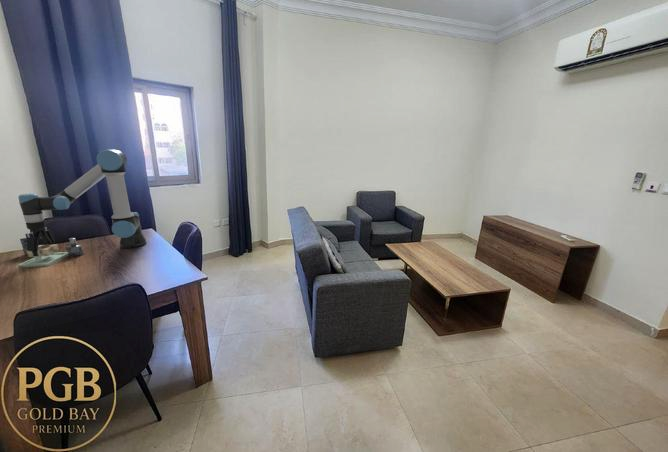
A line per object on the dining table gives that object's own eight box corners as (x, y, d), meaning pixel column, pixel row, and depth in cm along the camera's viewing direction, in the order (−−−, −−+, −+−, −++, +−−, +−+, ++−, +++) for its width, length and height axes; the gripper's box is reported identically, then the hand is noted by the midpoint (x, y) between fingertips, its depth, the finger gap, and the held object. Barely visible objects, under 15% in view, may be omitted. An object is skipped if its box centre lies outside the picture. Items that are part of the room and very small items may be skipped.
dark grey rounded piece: (86, 252, 172) (82, 236, 169) (79, 256, 166) (74, 240, 163) (73, 253, 171) (69, 236, 168) (65, 257, 164) (61, 240, 161)
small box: (50, 252, 171) (46, 236, 169) (39, 256, 165) (34, 240, 162) (36, 251, 172) (31, 235, 169) (23, 255, 166) (19, 239, 163)
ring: (41, 251, 161) (39, 245, 160) (59, 250, 163) (57, 244, 162) (28, 257, 153) (26, 250, 152) (47, 256, 155) (45, 249, 154)
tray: (70, 254, 169) (70, 251, 169) (48, 265, 152) (48, 263, 152) (44, 255, 166) (43, 253, 166) (18, 267, 149) (17, 265, 149)
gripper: (42, 216, 162) (52, 251, 168) (9, 226, 142) (21, 265, 148) (57, 216, 164) (66, 250, 170) (26, 226, 143) (38, 264, 150)
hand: (45, 257), depth 159 cm, fingers closed on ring, 9 cm apart
